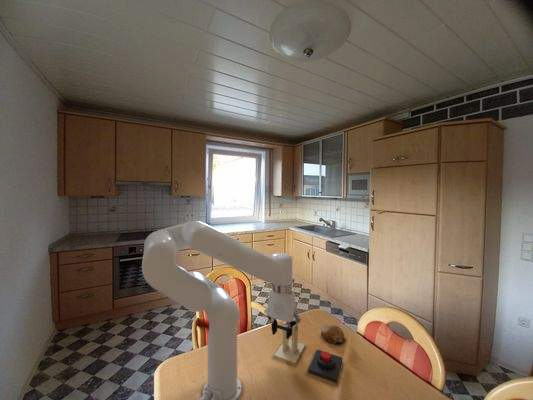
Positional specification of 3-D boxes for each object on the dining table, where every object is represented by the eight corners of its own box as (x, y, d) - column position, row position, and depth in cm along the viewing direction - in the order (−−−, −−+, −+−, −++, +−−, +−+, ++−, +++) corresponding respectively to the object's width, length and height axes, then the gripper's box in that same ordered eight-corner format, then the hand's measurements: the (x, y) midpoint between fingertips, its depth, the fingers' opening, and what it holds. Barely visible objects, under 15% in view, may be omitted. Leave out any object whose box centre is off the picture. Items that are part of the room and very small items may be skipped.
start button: (329, 364, 83) (329, 359, 83) (319, 360, 85) (319, 356, 85) (331, 357, 87) (331, 353, 86) (322, 354, 88) (322, 350, 88)
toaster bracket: (295, 366, 87) (295, 333, 87) (274, 358, 91) (274, 326, 91) (305, 347, 98) (305, 318, 97) (285, 341, 102) (285, 312, 102)
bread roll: (342, 343, 106) (340, 323, 109) (347, 347, 97) (345, 325, 100) (320, 341, 107) (319, 322, 110) (323, 345, 98) (322, 324, 101)
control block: (336, 385, 78) (336, 374, 78) (308, 375, 83) (308, 364, 83) (342, 362, 89) (342, 352, 89) (316, 354, 93) (316, 345, 93)
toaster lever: (286, 333, 84) (288, 325, 85) (274, 329, 86) (275, 322, 87) (296, 331, 94) (297, 324, 95) (285, 327, 96) (286, 321, 97)
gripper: (257, 286, 86) (257, 333, 87) (300, 295, 78) (300, 347, 79) (266, 279, 93) (266, 324, 93) (307, 287, 85) (306, 336, 86)
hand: (281, 334), depth 86 cm, fingers closed on toaster lever, 5 cm apart
